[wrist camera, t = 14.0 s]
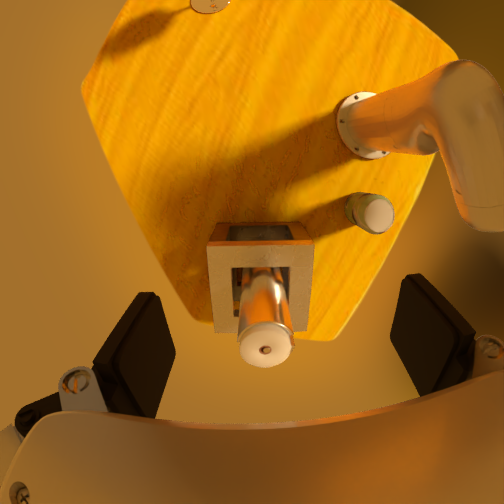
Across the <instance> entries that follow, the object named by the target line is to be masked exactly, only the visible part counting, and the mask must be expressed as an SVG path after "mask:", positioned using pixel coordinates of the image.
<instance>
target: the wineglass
mask: <svg viewBox="0 0 504 504" xmlns="http://www.w3.org/2000/svg"><path fill="white" fill-rule="evenodd" d="M230 1H231V0H191V5H192V7H193V9H195V10H196V11H198V12H201V13H215V12H218V11H220V10H222V9H224V8H225V7H227V6H228V5H229V3H230Z"/></svg>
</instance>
